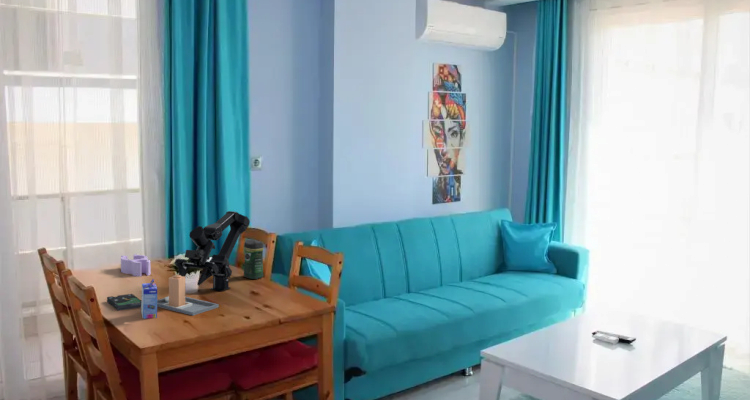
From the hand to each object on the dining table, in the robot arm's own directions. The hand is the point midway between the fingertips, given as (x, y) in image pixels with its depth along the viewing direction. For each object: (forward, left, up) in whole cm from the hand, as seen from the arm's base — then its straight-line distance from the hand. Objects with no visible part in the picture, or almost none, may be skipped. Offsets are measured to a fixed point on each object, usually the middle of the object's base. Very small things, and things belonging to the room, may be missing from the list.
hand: (188, 283), depth 268 cm
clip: (-61, +23, -9) cm, 66 cm away
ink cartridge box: (+2, -22, -9) cm, 23 cm away
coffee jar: (-8, +50, -9) cm, 52 cm away
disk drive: (-19, -16, -9) cm, 27 cm away
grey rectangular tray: (+4, -6, -8) cm, 11 cm away
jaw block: (+2, -8, -8) cm, 11 cm away
